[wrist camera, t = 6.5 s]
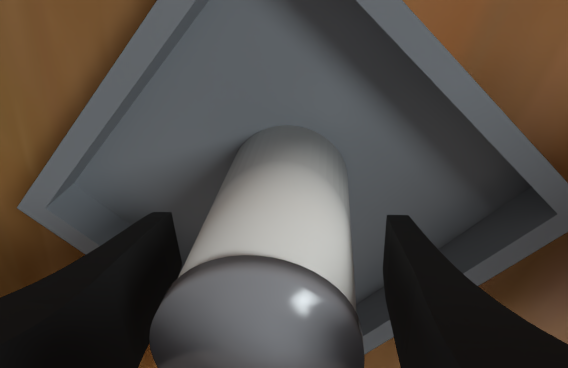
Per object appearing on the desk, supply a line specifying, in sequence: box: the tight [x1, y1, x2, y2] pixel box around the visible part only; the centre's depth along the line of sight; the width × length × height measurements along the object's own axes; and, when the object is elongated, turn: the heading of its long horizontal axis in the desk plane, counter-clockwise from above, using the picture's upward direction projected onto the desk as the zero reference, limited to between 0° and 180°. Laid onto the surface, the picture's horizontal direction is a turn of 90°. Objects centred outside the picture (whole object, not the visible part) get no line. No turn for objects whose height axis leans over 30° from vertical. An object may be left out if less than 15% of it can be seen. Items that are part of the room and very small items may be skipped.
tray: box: [17, 0, 568, 354], centre depth 15 cm, size 14×14×2 cm
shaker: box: [149, 125, 364, 368], centre depth 12 cm, size 5×5×8 cm
